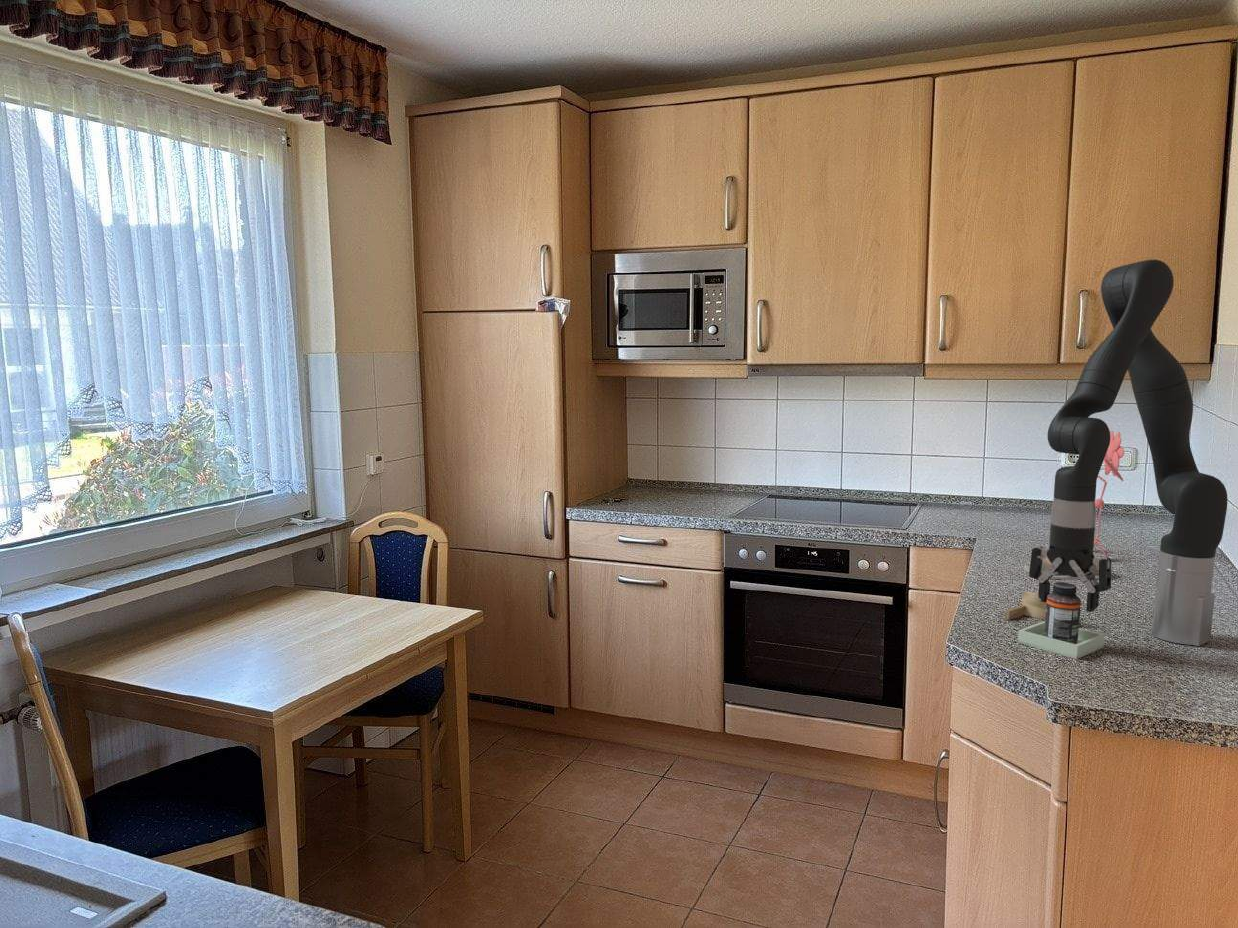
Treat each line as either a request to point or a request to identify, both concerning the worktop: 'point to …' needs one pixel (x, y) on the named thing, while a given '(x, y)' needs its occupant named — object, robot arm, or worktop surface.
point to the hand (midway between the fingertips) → (1067, 606)
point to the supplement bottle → (1063, 613)
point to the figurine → (1110, 465)
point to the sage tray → (1084, 645)
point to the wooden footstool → (1028, 607)
